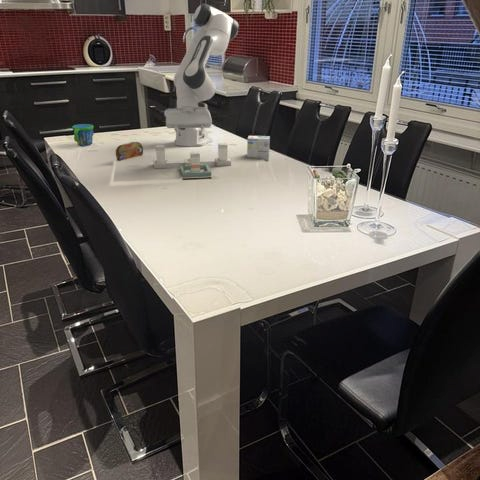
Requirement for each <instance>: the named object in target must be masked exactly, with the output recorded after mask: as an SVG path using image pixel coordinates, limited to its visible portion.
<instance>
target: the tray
mask: <svg viewBox="0 0 480 480" xmlns="http://www.w3.org/2000/svg"><path fill="white" fill-rule="evenodd" d="M179 169H180V173H181V175H182V177H183V178H182V181H194V180H195V181H196V180H199V181H200V180H212V170H211V169H210V167H208V165H200V170H206V171H200V172H191V171H190V172H189V171H188V172H185V171H186V170H191V165H184V166H180V168H179Z"/></svg>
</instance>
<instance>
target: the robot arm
mask: <svg viewBox="0 0 480 480" xmlns="http://www.w3.org/2000/svg"><path fill="white" fill-rule="evenodd" d="M193 16H194V18H193V20H194V23H195V25H197V26H198V28H197V30H196V32H195V33H194V35H193V37H192V39H191V42H190V43H189V47H188V48H187V51H186V52H185V55H184V56H183V59H182V61H181V62H180V64H179V66H178V68H177V70H176V72H175V74H174V75H173V76H174V77H173V85H174V86H175V91H176V94H175V95H176V107H175V108H166V109H165V110H164V117H165V126H166V129H174V131H175V132H176V133H175V139H174V142H175V145H177V146H181V147H202V146H204V145H207V144H209V143H211V142H213V138H211V137H209V131H208V130H207V129H210V128H211V127H212V125H213V120H212V116H211V113H210V110H209V109H208V104H207V103H205V102H206V101H209V100H211V99H212V98H213V97H214V96H215V94H216V91H217V86H216V84H215V83H214V81H213V80H212V78H211V76H209V74H208V73H207V71H206V69H205V66H206V64H207V62H208V60H209V59H210V58H209V57H210V56H212V57H213V56H215V57H218V56H221V55H223V54H225V52H226V51H227V49H228V46H229V42H231V41H233V40H234V39H235V38H236V36H237V35H238V33H239V26H240V25H239V22H238V21H237V20H236V19H234V18H233V17H231V16H229V15H228V14H227V13H226V12H224V11H221V10H219V9H217V8H216V7H214V6H211V5H210V4H207V3H205V2H204V3H201V4H200V5H199V6H198V7H197V8H196V10H195V12H194V15H193Z"/></svg>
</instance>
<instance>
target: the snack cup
mask: <svg viewBox="0 0 480 480" xmlns="http://www.w3.org/2000/svg"><path fill="white" fill-rule="evenodd" d="M71 127H72V131H73V132H74V133H73V134H74V135H73V140H74V142H76V143H77V145H78V146H80V147H87V146H88V147H89V146H91V145H93V141H94V140H93V137H94V134H95V133H94V128H95V127H94V125H93V124H89V123H80V124H74V125H73V126H71Z"/></svg>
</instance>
